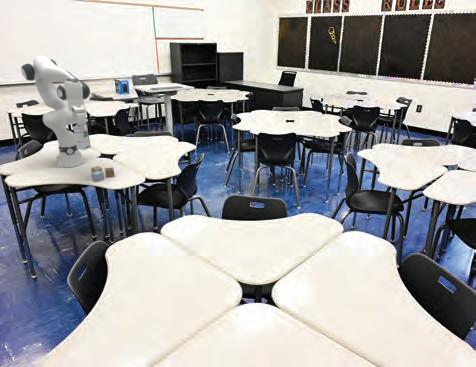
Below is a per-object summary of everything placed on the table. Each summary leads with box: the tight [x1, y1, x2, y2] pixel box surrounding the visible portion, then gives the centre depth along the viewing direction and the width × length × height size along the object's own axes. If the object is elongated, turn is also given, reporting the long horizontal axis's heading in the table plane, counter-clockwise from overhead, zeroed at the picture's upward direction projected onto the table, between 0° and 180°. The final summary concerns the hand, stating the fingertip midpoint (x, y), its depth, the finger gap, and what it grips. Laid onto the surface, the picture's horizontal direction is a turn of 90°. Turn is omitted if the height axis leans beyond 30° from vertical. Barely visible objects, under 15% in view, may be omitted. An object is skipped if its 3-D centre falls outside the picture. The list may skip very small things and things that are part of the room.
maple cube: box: [90, 165, 104, 173], centre depth 229 cm, size 5×5×5 cm
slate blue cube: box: [91, 171, 105, 183], centre depth 220 cm, size 5×5×5 cm
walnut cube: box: [104, 167, 116, 179], centre depth 226 cm, size 5×5×5 cm
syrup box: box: [72, 124, 92, 151], centre depth 214 cm, size 6×6×14 cm
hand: (80, 130), depth 213 cm, fingers closed on syrup box, 8 cm apart
